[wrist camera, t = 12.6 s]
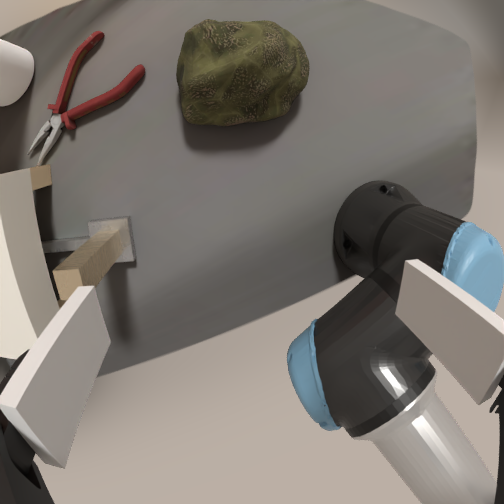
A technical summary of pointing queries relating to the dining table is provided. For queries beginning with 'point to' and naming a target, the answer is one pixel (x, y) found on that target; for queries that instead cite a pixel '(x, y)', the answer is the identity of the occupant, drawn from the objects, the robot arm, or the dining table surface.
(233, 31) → the decorative rock
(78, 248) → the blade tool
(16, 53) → the wine bottle
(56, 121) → the pliers
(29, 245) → the cabinet
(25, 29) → the dining table surface
